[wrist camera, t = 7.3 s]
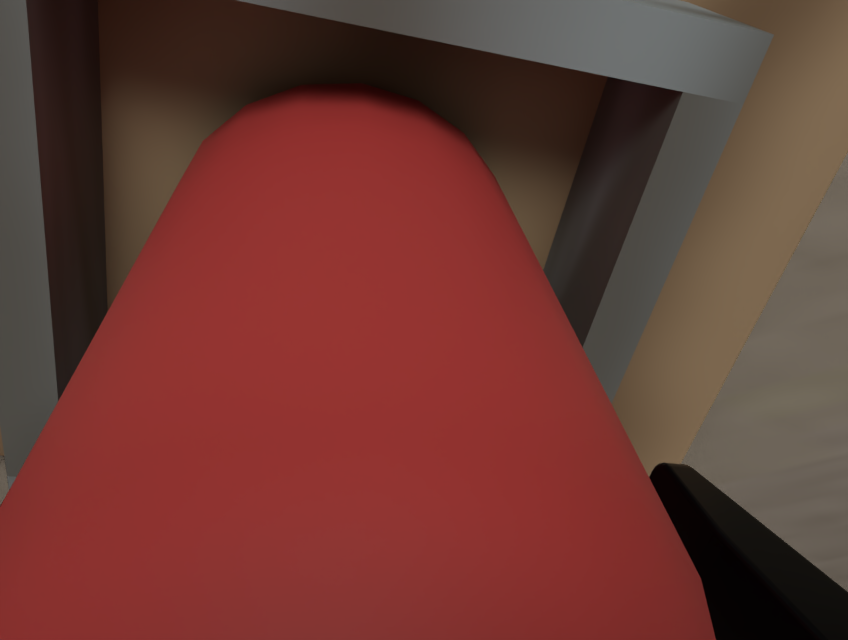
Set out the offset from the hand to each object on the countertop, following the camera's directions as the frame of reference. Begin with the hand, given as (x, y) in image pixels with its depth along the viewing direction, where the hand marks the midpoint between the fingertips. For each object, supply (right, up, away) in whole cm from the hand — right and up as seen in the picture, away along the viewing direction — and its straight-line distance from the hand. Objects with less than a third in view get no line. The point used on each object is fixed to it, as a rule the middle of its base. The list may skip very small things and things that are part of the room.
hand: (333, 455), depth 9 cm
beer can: (-1, +3, +6) cm, 7 cm away
